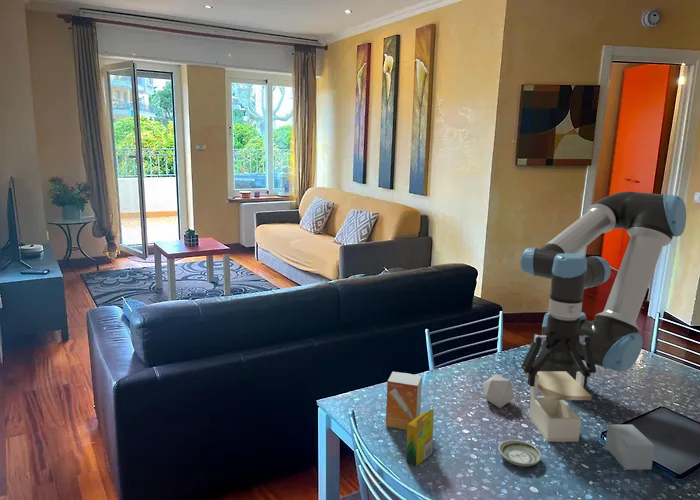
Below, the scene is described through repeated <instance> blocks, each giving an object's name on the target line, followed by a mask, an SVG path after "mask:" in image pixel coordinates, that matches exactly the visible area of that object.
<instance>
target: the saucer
mask: <svg viewBox="0 0 700 500" xmlns="http://www.w3.org/2000/svg"><path fill="white" fill-rule="evenodd" d="M497 450H498V453H499V454H500V456H501V458H503V459H504V460H506V462H508V463H510V464H512V465H515V466H517V467H518V466H519V467H531V466H534V465H537V464H538V463H540V462H541V460H542V453H541V451H540V450H539V449H538V447H536V446H534V445H533V444H531V443H529V442H528V441H527V442H526V441H524V440H519V439H507V440H504V441H502V442H500V443H499V445H498V446H497Z"/></svg>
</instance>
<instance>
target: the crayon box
mask: <svg viewBox="0 0 700 500" xmlns="http://www.w3.org/2000/svg"><path fill="white" fill-rule="evenodd" d="M433 441H434V408H431V409H430V410H429V411H428V412H425V411H423V412H422V413H420V415H419V416H418V417H416V418H415V419H414V420H413V421H411V422H410V423H409V424H407V430H406V463H407V464H410V465H413V466H415V467H418V466H419V465H420V464H421V463H422V462H423V461H424V460H426V459H427V458H428V457H429V456H430V455H431V454H432V453H433V448H434V447H433V444H434V442H433Z"/></svg>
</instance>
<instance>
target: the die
mask: <svg viewBox="0 0 700 500" xmlns="http://www.w3.org/2000/svg"><path fill="white" fill-rule="evenodd" d="M481 384H482V389H483V393H484V397H485V399H486V401H487V402H489V403H490V404H492V405H494V406H495V407H498V408H499V409H501V408H503V407H504V406H505V405H507V404H508V403H510V402H512V401H513V400H514V399H515V398H516V397H515V394H514V390H513V387H512V384H511V382H510V380H509V379H507V378H505V377H503V376H501V375H499V374H497V373H495V374H494V375H492V376H491V377H490V378H488V379H486V380H485V381H484V382H482V383H481Z"/></svg>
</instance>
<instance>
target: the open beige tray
mask: <svg viewBox="0 0 700 500" xmlns="http://www.w3.org/2000/svg"><path fill="white" fill-rule="evenodd" d="M529 402H530V404H529V415H528V416H529V417H528V418H529V419H530V420H531V421H532V423H533V424H534V425H535V427H536V429H537V430H538V431H539V433H540V434H541V436H542V437H543V438H544V440H545V441H546V442H547V443H548V442H549V443H550V442H551V443H552V442H561V443H562V442H579V440H580V435H581V434H580V432H581V424H582V419H581V418H580V416H579V415H578V414H577V413H576V412H575V411H574V410H573V409H572V407H571V406H570V405H569V404H568V403H567V402H566V400H546V398H545V397H544V396H543V395H541V396H540V395H537V400H533V398H532V397H531V396H530V401H529Z"/></svg>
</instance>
